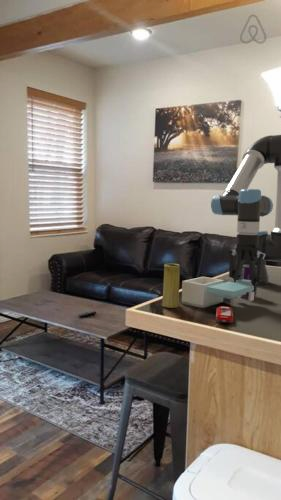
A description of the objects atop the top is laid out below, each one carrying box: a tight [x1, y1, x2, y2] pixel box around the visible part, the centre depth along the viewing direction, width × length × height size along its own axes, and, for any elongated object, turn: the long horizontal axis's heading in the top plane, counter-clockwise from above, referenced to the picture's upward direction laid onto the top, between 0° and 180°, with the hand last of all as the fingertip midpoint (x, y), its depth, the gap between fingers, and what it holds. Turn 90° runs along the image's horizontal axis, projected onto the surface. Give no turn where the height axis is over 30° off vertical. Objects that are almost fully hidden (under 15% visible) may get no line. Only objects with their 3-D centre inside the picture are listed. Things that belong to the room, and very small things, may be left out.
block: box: [207, 279, 254, 300], centre depth 139 cm, size 20×10×3 cm, turn 137°
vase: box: [161, 263, 181, 309], centre depth 139 cm, size 6×6×14 cm
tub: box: [181, 276, 225, 309], centre depth 144 cm, size 13×9×8 cm
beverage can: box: [239, 264, 258, 299], centre depth 156 cm, size 7×7×12 cm
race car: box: [215, 305, 234, 324], centre depth 125 cm, size 13×5×4 cm, turn 167°
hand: (244, 299), depth 145 cm, fingers closed on block, 4 cm apart
